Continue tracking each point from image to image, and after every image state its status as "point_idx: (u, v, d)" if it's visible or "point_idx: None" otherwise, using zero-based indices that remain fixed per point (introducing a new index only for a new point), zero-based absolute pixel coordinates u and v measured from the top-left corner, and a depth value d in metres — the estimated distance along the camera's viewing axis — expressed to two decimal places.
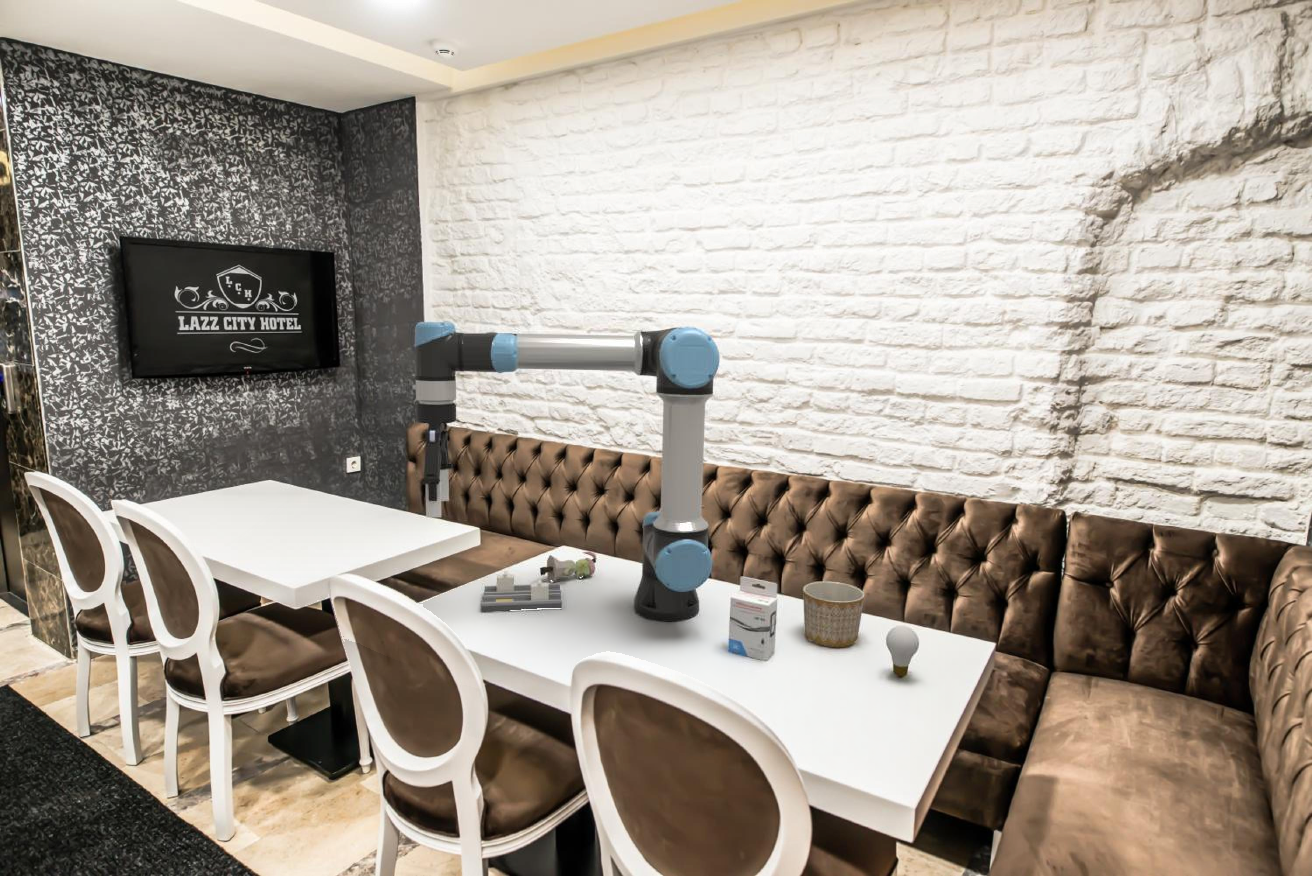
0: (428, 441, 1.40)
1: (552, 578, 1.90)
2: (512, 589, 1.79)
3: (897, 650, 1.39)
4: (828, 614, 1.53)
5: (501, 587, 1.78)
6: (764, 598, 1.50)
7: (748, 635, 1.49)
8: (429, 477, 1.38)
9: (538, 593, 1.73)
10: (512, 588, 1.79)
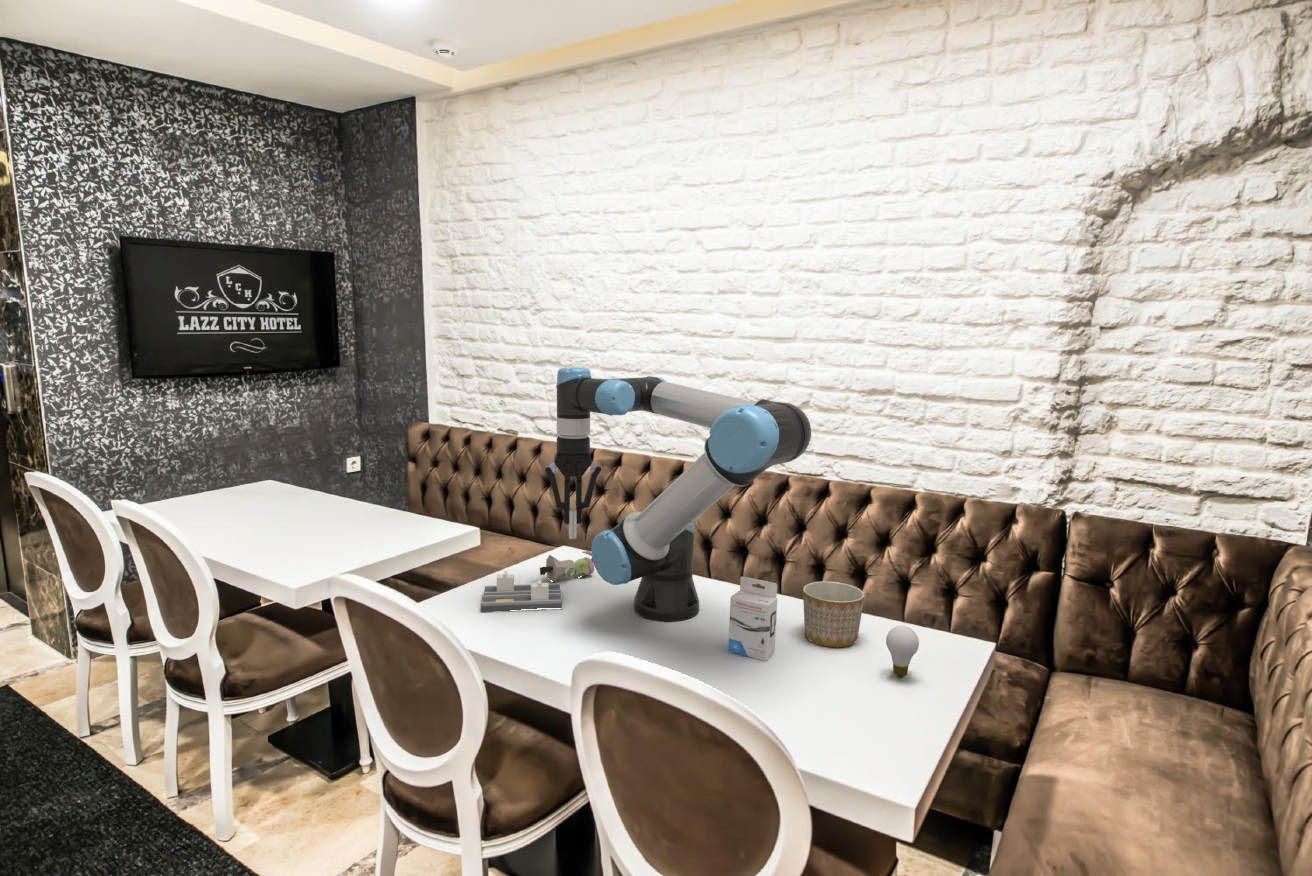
0: None
1: (552, 578, 1.91)
2: (512, 589, 1.79)
3: (897, 650, 1.39)
4: (828, 614, 1.53)
5: (501, 587, 1.78)
6: (764, 598, 1.50)
7: (748, 635, 1.49)
8: None
9: (538, 593, 1.73)
10: (512, 588, 1.79)
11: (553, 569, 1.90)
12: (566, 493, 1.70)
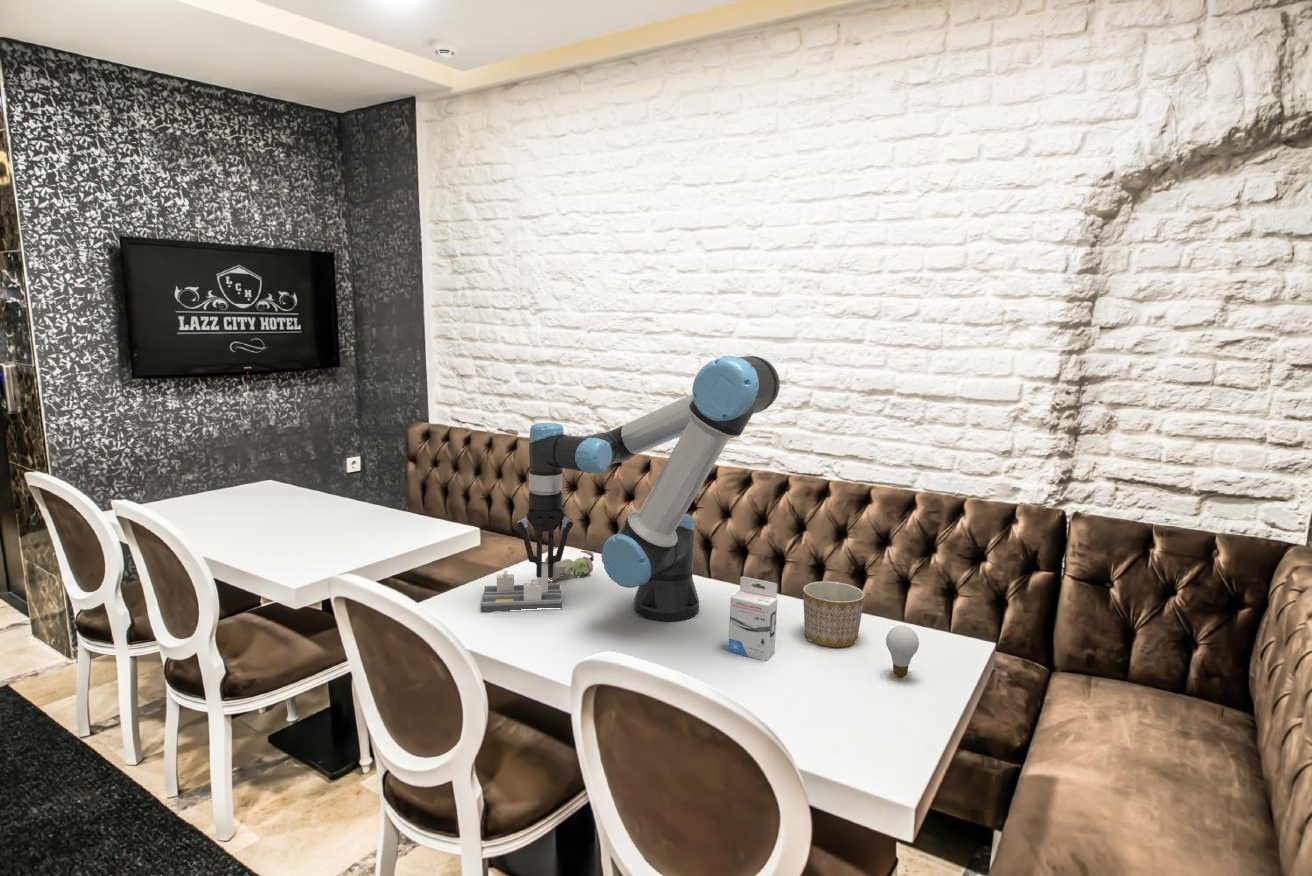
0: None
1: (552, 577, 1.91)
2: (512, 589, 1.79)
3: (897, 650, 1.39)
4: (828, 614, 1.53)
5: (501, 587, 1.78)
6: (764, 598, 1.50)
7: (748, 635, 1.49)
8: None
9: (531, 593, 1.72)
10: (512, 588, 1.79)
11: (553, 569, 1.90)
12: (538, 548, 1.71)
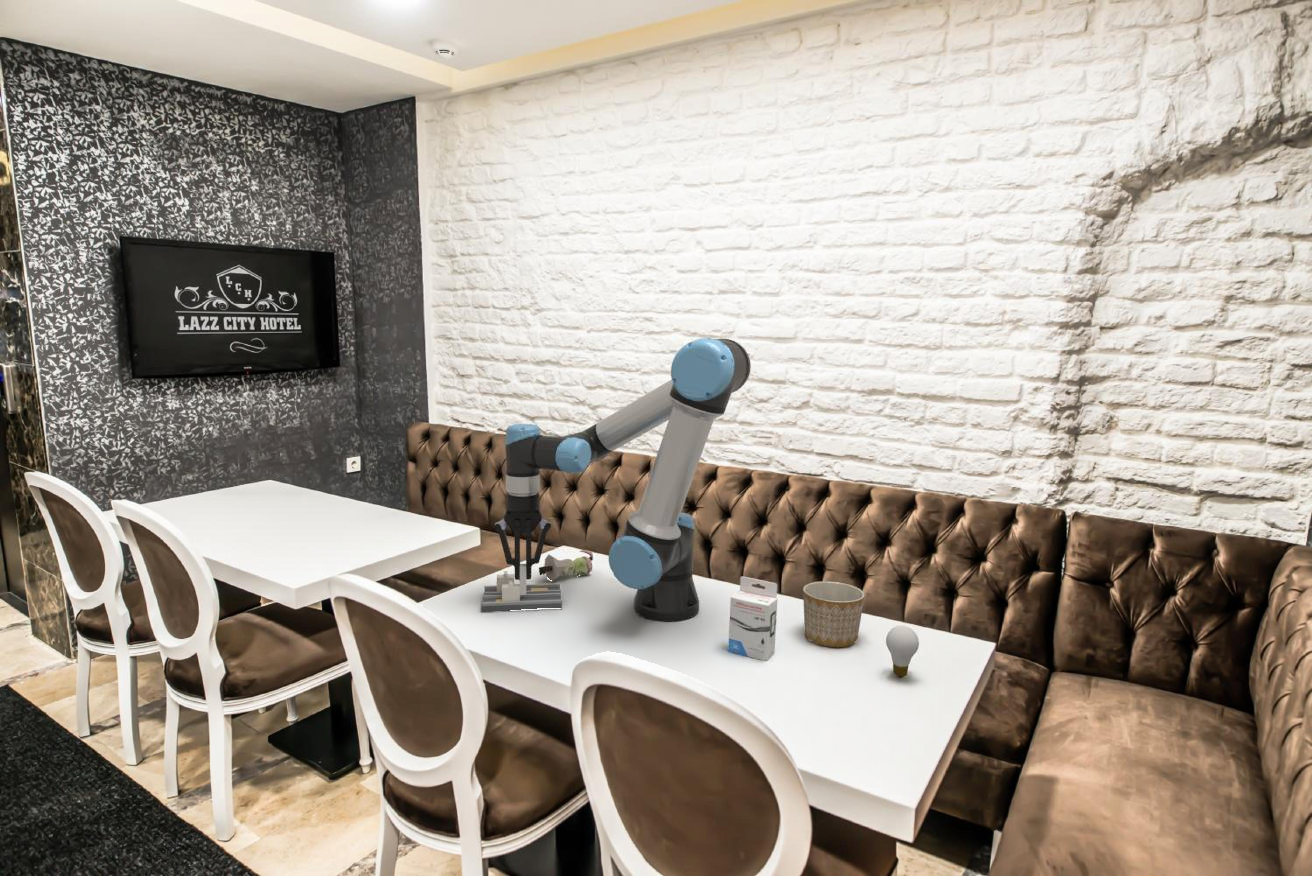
0: None
1: (552, 577, 1.91)
2: None
3: (897, 650, 1.39)
4: (828, 614, 1.53)
5: (501, 587, 1.78)
6: (764, 598, 1.50)
7: (748, 635, 1.49)
8: None
9: (509, 594, 1.72)
10: None
11: (553, 569, 1.90)
12: (516, 550, 1.70)
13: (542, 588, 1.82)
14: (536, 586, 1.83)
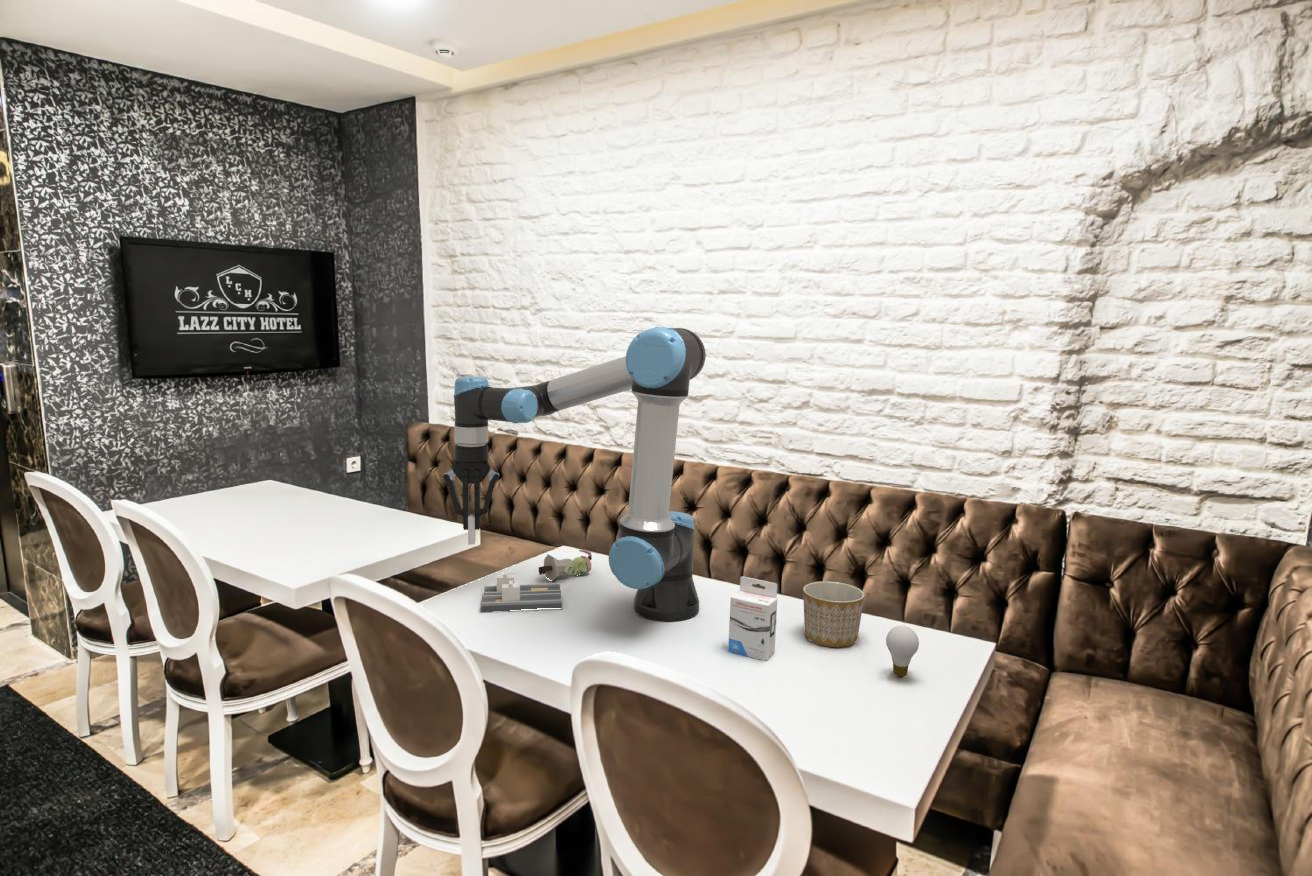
0: None
1: (551, 577, 1.91)
2: None
3: (897, 650, 1.39)
4: (828, 614, 1.53)
5: (501, 587, 1.78)
6: (764, 598, 1.50)
7: (748, 635, 1.49)
8: None
9: (509, 594, 1.72)
10: None
11: (553, 568, 1.90)
12: (464, 500, 1.74)
13: (542, 588, 1.82)
14: (536, 586, 1.83)
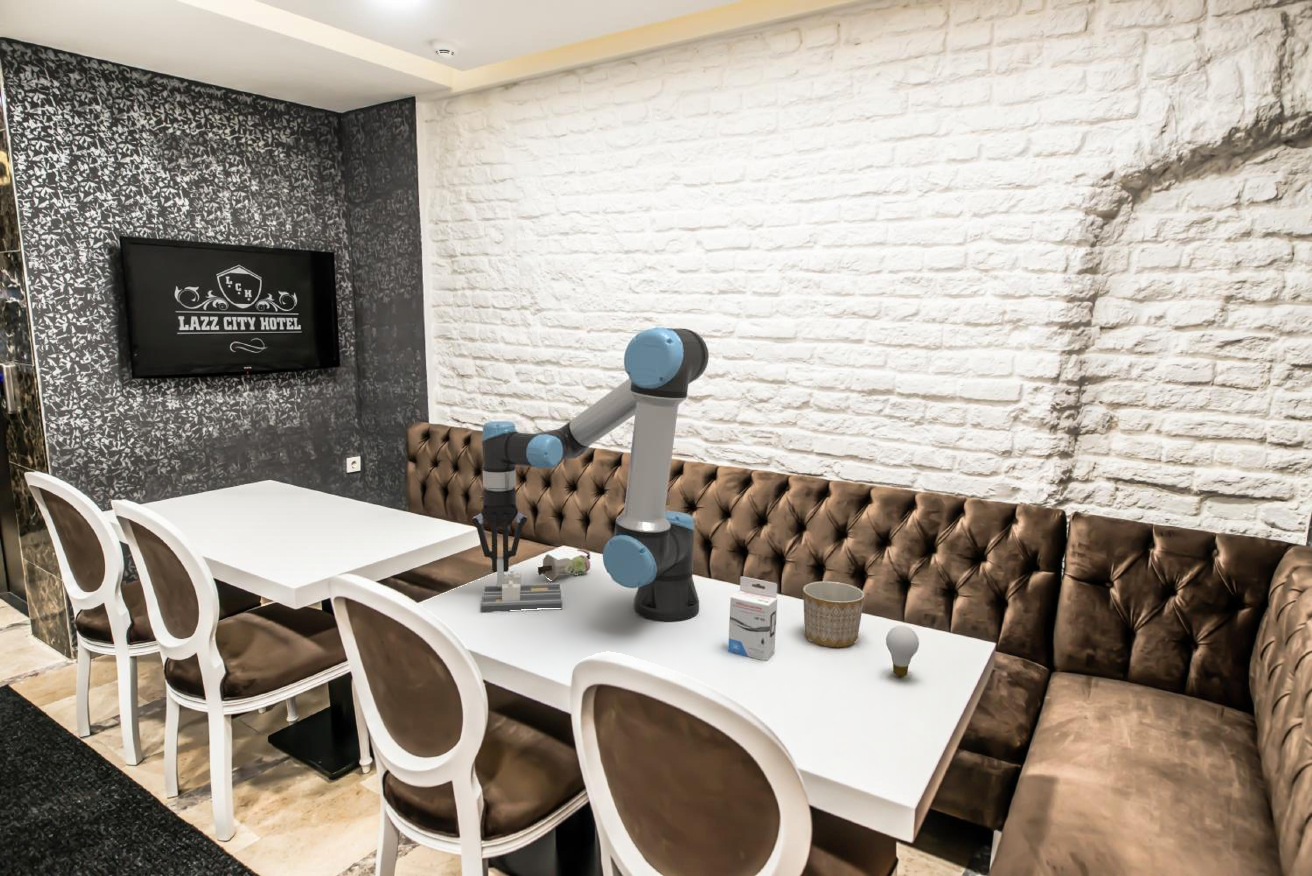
0: None
1: (551, 577, 1.91)
2: None
3: (897, 650, 1.39)
4: (828, 614, 1.53)
5: None
6: (764, 598, 1.50)
7: (748, 635, 1.49)
8: None
9: (509, 594, 1.72)
10: None
11: (552, 568, 1.91)
12: (493, 543, 1.76)
13: (542, 588, 1.82)
14: (536, 586, 1.83)
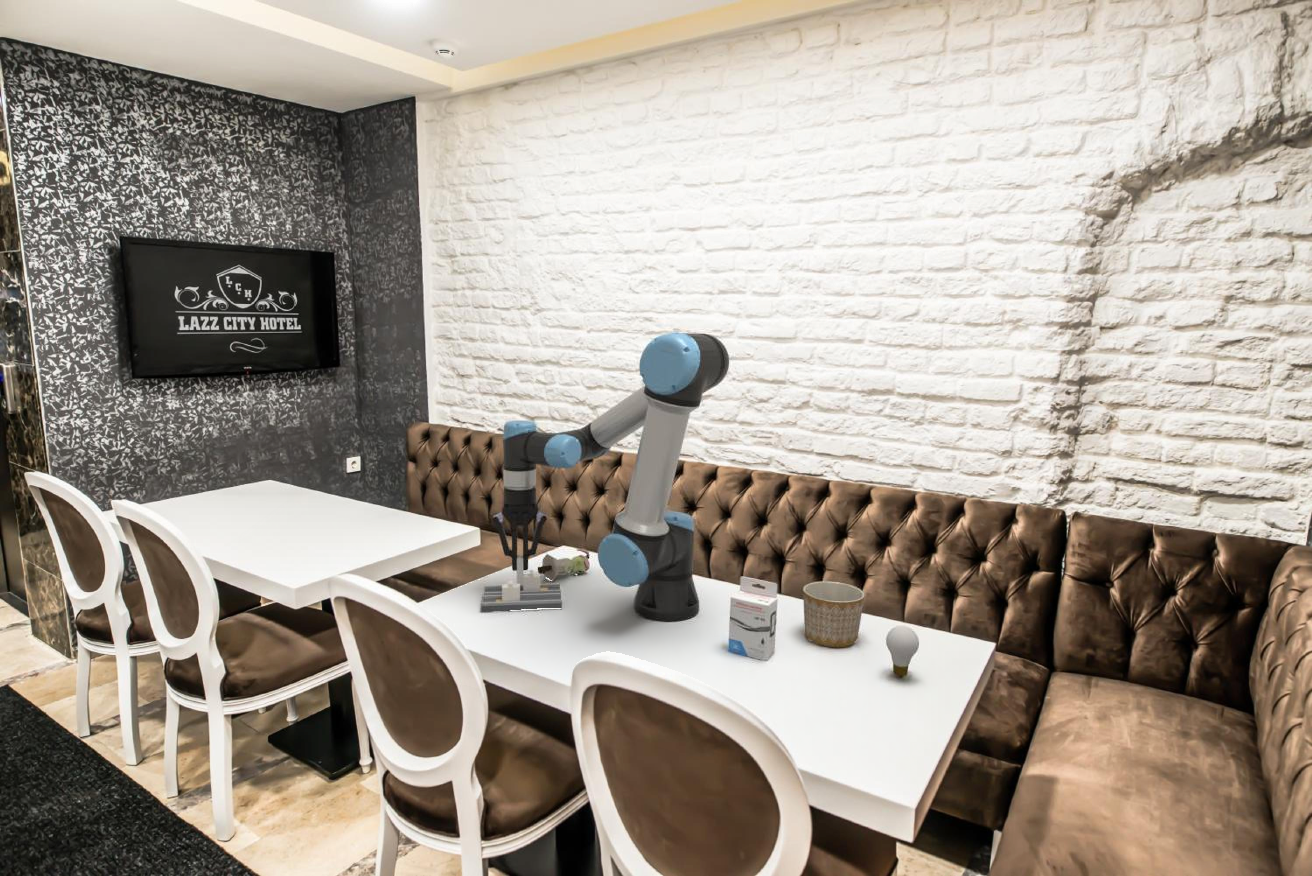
0: None
1: (551, 577, 1.91)
2: (538, 588, 1.80)
3: (897, 650, 1.39)
4: (828, 614, 1.53)
5: (527, 586, 1.79)
6: (764, 598, 1.50)
7: (748, 635, 1.49)
8: None
9: (509, 594, 1.72)
10: (538, 587, 1.80)
11: (552, 568, 1.91)
12: (513, 541, 1.77)
13: (542, 588, 1.82)
14: None
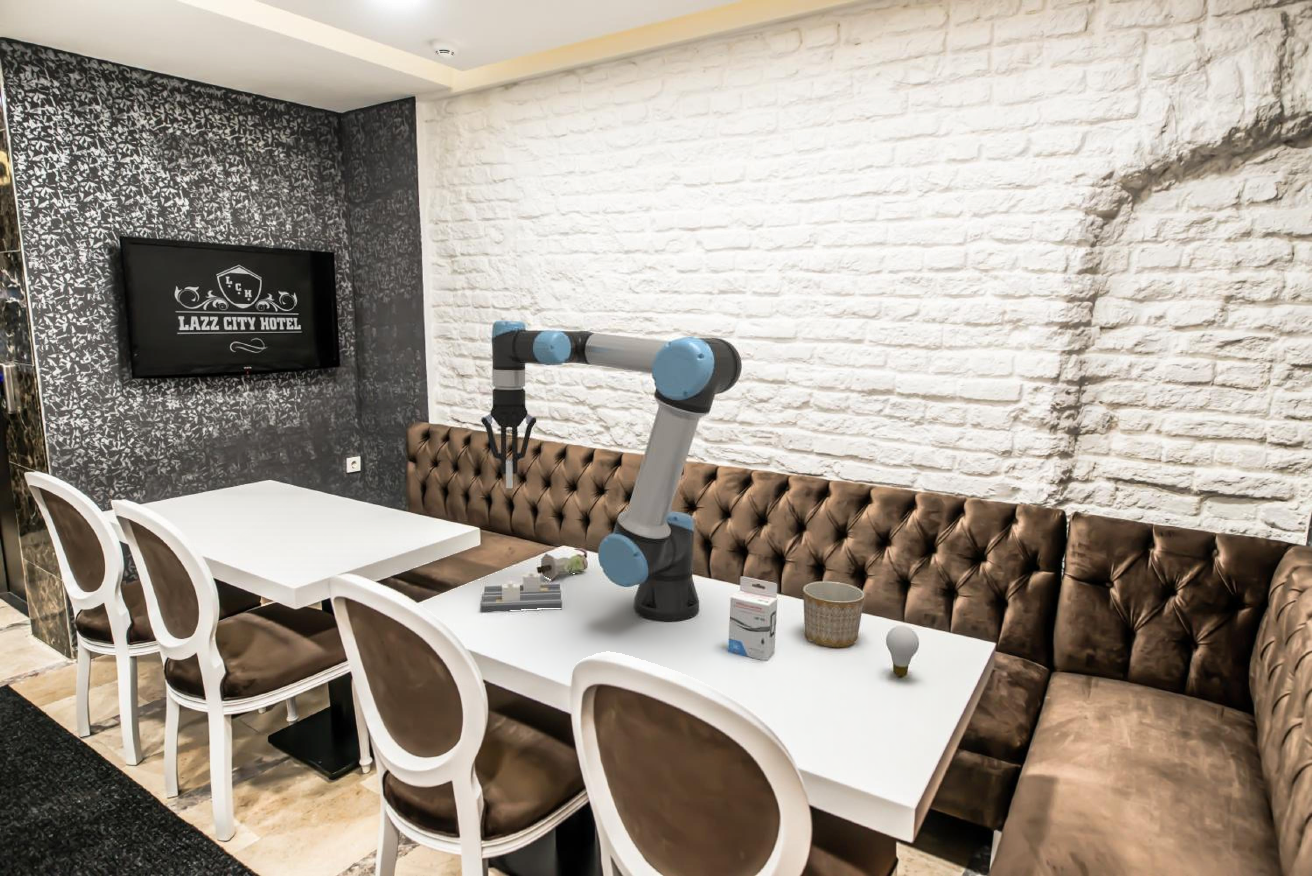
0: None
1: (550, 576, 1.92)
2: (538, 588, 1.80)
3: (897, 650, 1.39)
4: (828, 614, 1.53)
5: (527, 586, 1.79)
6: (764, 598, 1.50)
7: (748, 635, 1.49)
8: None
9: (509, 594, 1.72)
10: (538, 587, 1.80)
11: (552, 568, 1.91)
12: (502, 443, 1.75)
13: (542, 588, 1.82)
14: None
